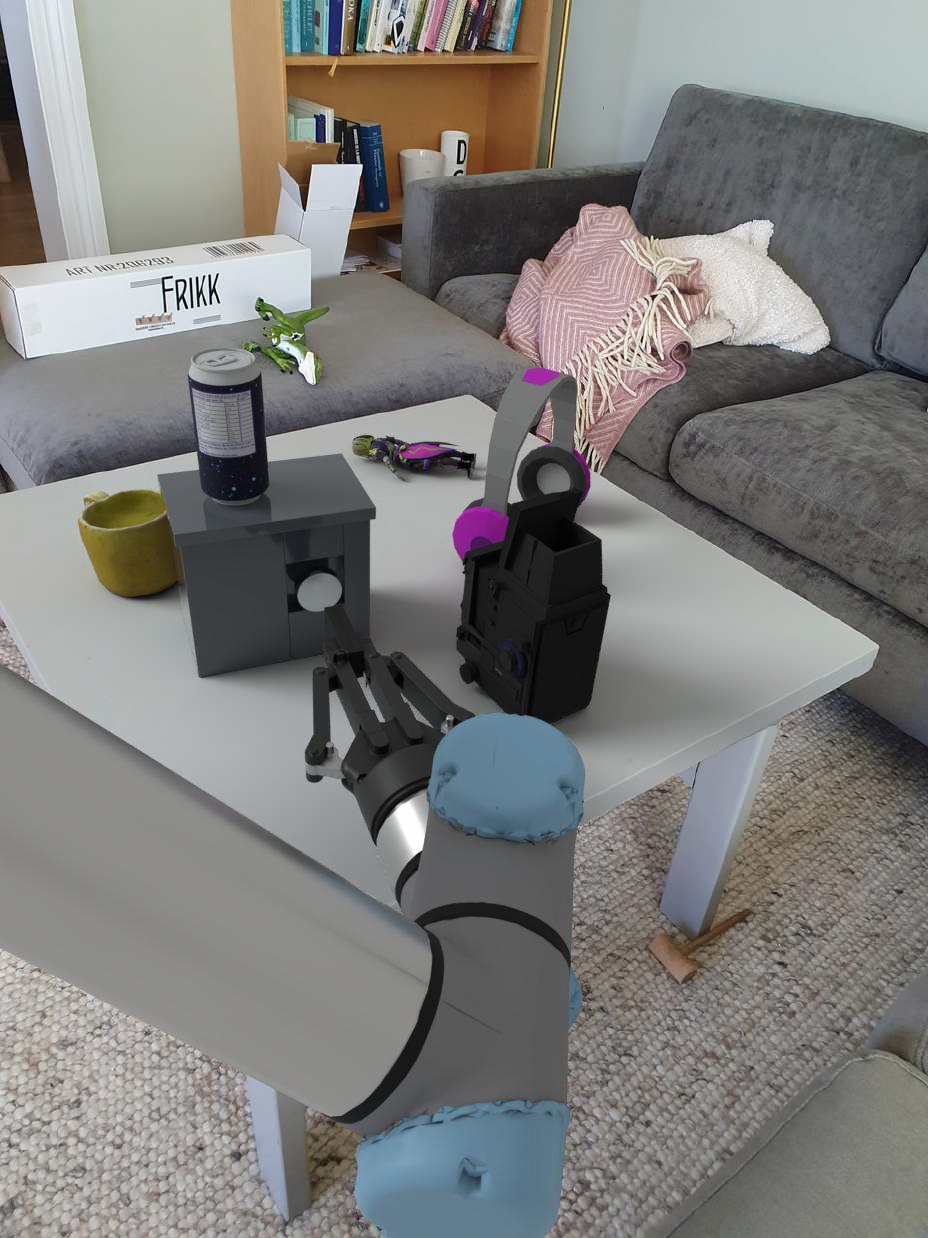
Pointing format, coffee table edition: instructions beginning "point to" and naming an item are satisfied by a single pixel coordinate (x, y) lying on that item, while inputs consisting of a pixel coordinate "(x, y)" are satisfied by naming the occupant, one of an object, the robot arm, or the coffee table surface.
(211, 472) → the beverage can
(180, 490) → the cabinet
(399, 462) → the character figure
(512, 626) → the camera
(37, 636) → the coffee table surface
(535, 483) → the headphones
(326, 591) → the flush button
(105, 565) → the mug
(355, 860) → the coffee table surface
